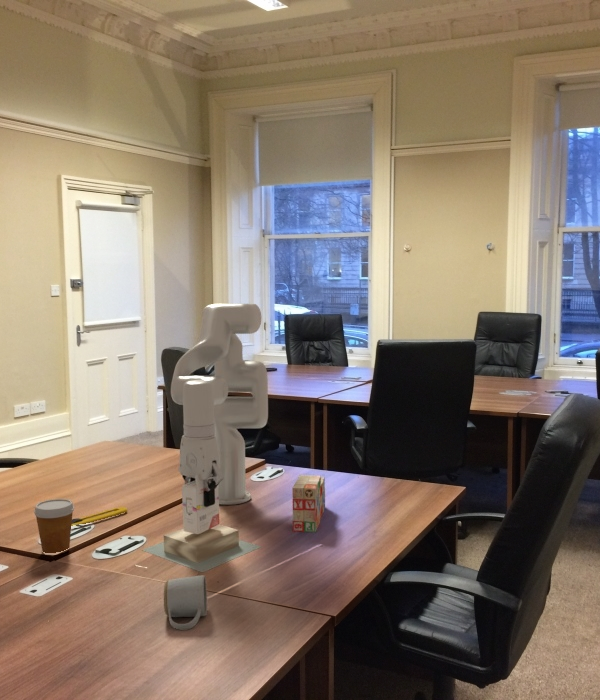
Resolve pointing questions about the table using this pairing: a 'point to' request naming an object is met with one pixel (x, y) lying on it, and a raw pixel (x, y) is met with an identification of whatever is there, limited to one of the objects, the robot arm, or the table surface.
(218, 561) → the mat
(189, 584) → the ceramic mug
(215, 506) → the ink cartridge box
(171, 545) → the base block
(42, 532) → the disposable coffee cup
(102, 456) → the table surface
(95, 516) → the utility knife
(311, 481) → the stack of blocks
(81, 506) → the table surface
